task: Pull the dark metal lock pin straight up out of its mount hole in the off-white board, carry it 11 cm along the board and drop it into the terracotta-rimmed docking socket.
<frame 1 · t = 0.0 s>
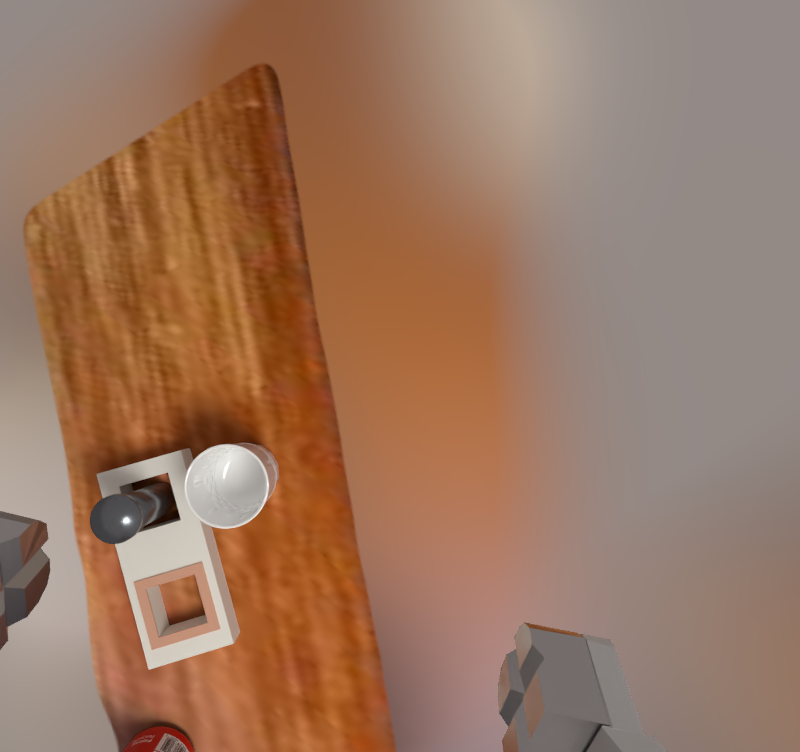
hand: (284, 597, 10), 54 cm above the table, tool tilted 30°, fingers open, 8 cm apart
white cup: (249, 472, 63), on the table
dock board: (174, 551, 62), on the table
lock pin: (160, 498, 62), resting in dock board
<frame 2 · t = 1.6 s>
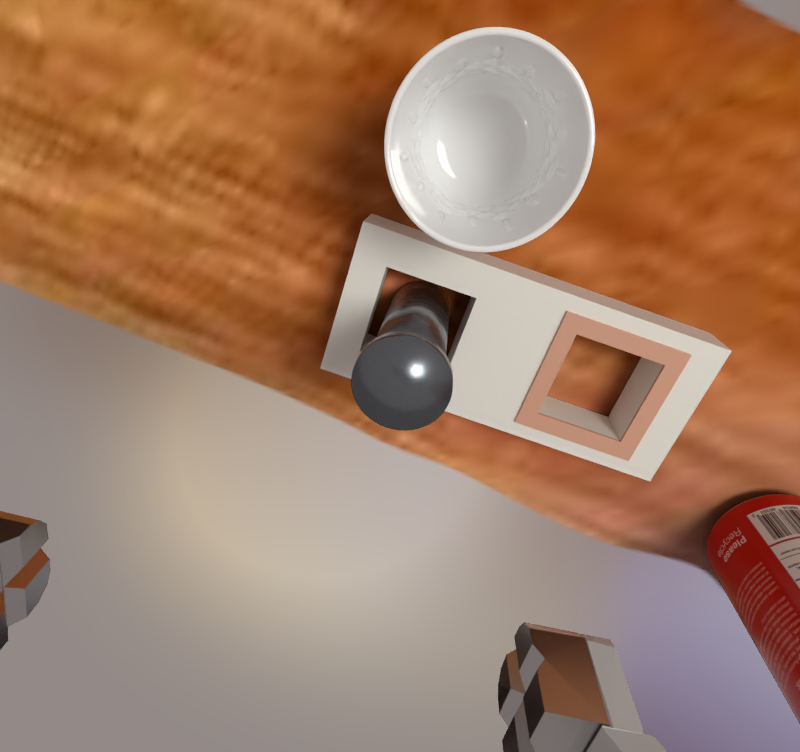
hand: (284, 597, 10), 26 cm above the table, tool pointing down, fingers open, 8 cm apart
white cup: (480, 141, 31), on the table
dock board: (512, 341, 35), on the table
soda can: (761, 532, 38), on the table
lock pin: (420, 309, 35), resting in dock board
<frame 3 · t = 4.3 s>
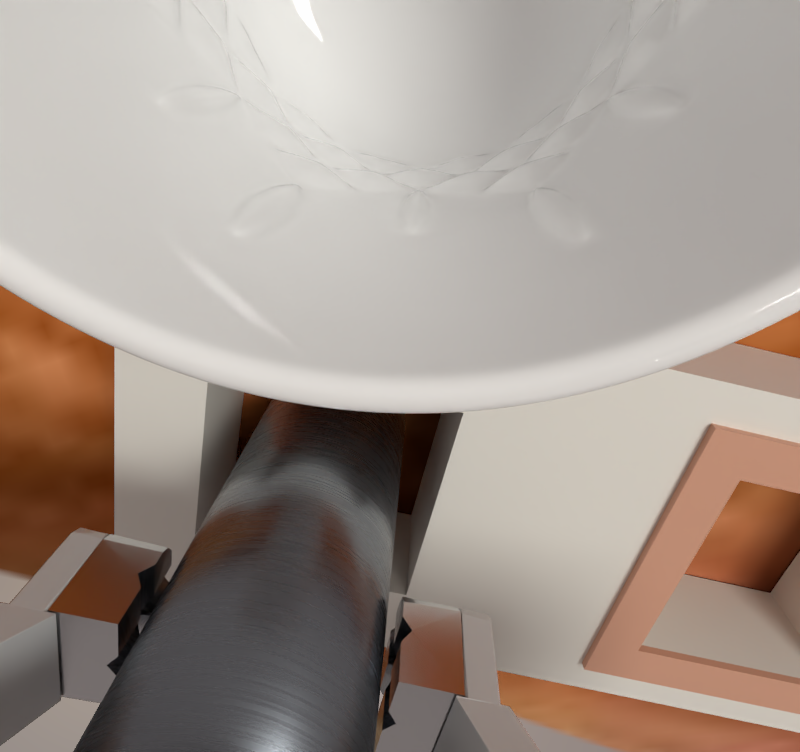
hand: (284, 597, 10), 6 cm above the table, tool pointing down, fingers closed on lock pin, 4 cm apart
dock board: (554, 467, 15), on the table
lock pin: (338, 419, 15), resting in dock board, touching gripper
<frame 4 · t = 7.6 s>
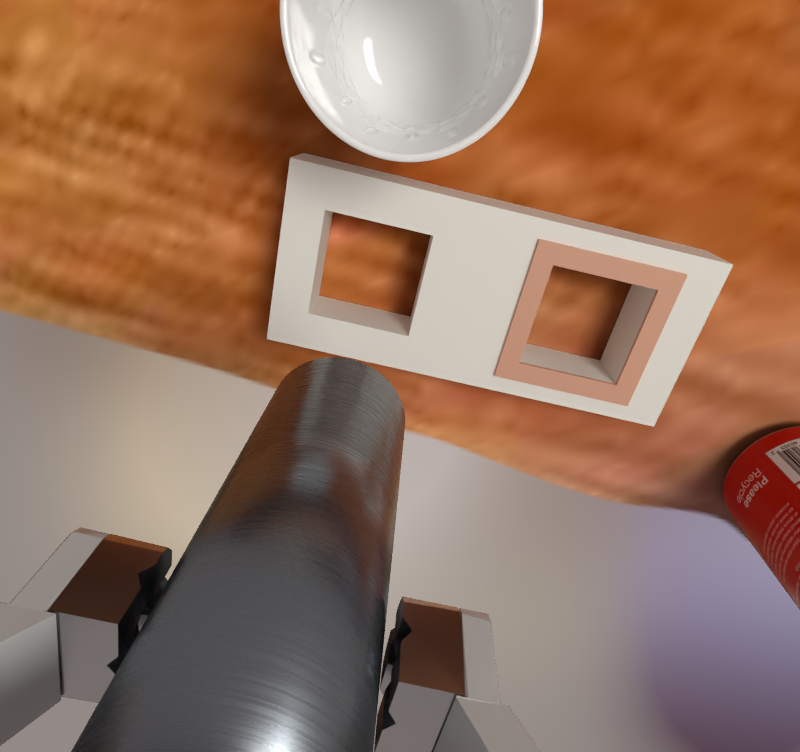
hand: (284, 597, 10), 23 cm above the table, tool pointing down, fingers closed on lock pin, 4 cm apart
white cup: (418, 51, 26), on the table
dock board: (483, 286, 30), on the table
soda can: (781, 470, 35), on the table
lock pin: (338, 418, 15), point 17 cm above the table, touching gripper
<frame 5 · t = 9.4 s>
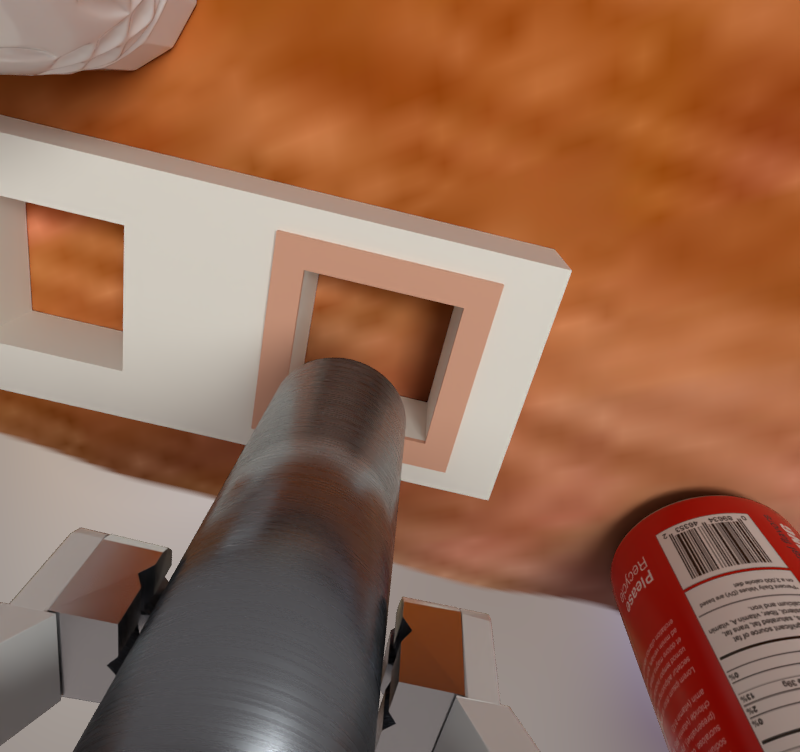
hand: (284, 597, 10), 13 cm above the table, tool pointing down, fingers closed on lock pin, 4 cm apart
dock board: (251, 299, 22), on the table
soda can: (692, 550, 25), on the table
lock pin: (338, 419, 15), point 7 cm above the table, touching gripper
when the fingers open (7 cm above the table, at t = 11.1 s): lock pin stays where it is, resting in dock board.
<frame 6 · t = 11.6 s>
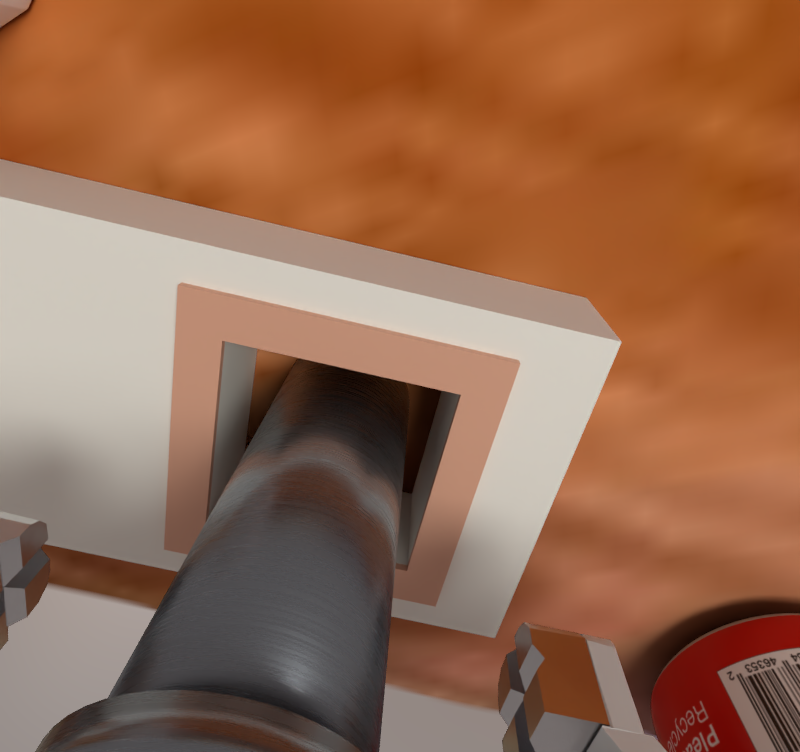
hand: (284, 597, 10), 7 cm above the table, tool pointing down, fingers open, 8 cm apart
dock board: (168, 362, 16), on the table
soda can: (753, 668, 20), on the table
lock pin: (346, 401, 16), resting in dock board
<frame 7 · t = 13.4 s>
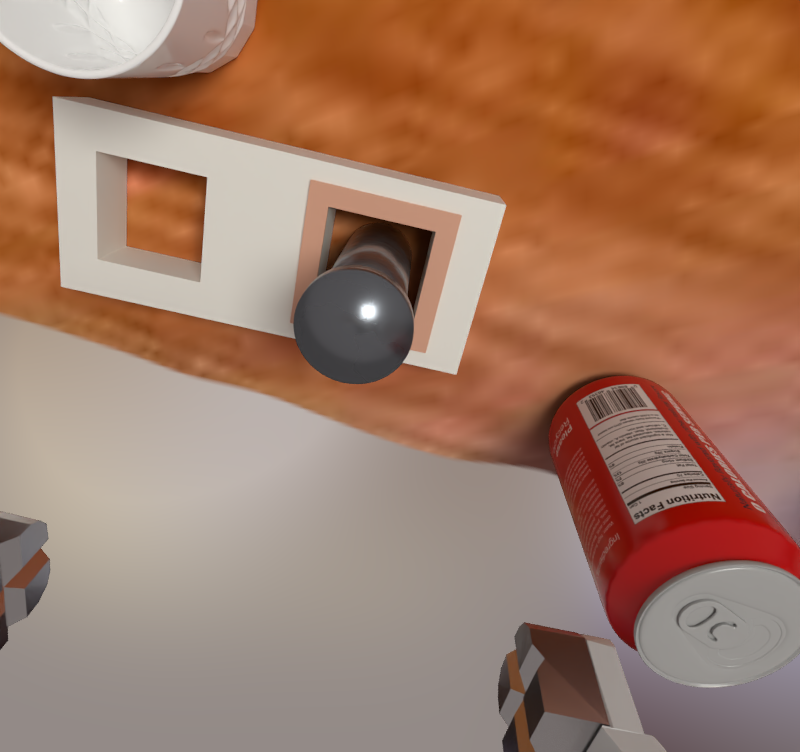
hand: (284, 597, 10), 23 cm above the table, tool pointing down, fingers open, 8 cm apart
dock board: (286, 235, 30), on the table
soda can: (609, 424, 35), on the table
lock pin: (378, 256, 31), resting in dock board
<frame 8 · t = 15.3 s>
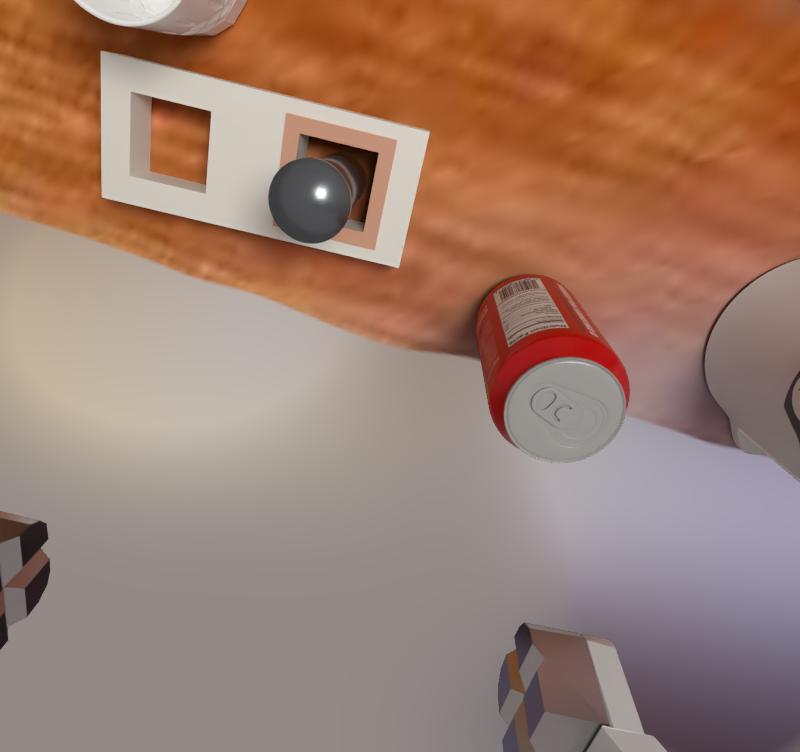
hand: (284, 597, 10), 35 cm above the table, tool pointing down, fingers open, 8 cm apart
dock board: (271, 162, 40), on the table
soda can: (525, 319, 44), on the table
lock pin: (341, 179, 40), resting in dock board
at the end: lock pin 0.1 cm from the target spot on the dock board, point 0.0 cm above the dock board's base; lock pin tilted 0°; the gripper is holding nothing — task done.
